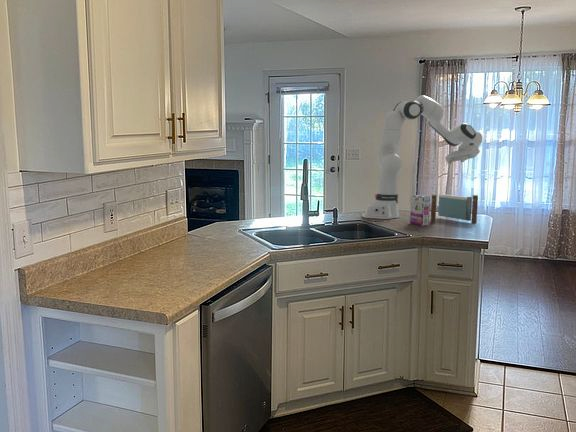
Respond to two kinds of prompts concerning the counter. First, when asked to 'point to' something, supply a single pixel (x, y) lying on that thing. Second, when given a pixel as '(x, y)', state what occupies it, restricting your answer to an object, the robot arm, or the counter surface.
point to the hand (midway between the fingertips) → (455, 162)
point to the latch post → (433, 209)
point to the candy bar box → (420, 210)
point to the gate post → (474, 209)
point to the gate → (455, 207)
